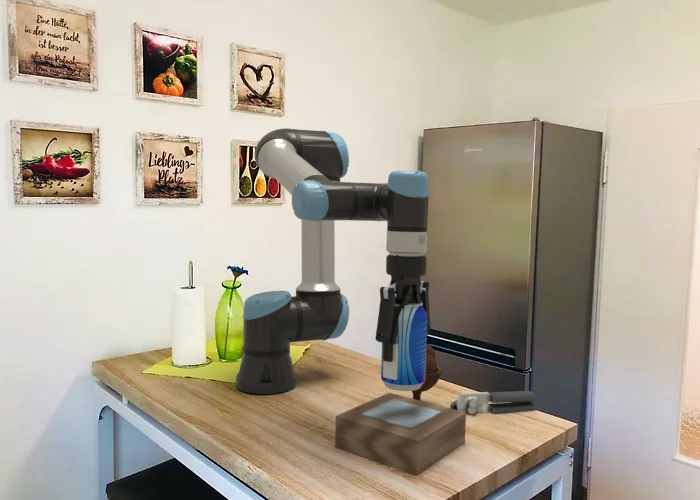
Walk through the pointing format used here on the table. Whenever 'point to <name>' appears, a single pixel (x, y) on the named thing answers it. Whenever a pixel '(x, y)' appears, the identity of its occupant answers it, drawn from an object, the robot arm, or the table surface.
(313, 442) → the table surface
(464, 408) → the can opener
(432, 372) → the ice cream bowl
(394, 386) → the beer can
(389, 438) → the walnut plinth
